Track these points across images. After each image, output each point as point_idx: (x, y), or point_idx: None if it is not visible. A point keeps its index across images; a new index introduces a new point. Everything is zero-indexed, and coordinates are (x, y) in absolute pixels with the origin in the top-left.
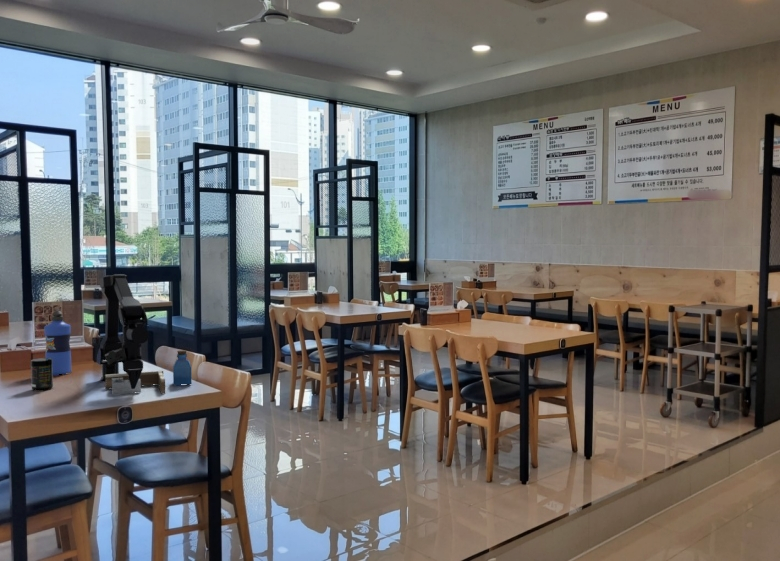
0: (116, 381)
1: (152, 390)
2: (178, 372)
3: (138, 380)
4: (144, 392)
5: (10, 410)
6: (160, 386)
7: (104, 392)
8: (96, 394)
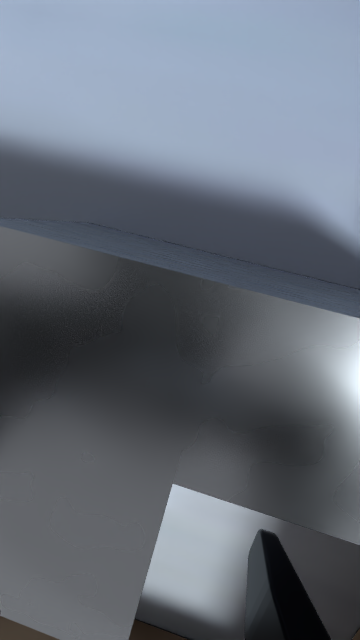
0: (102, 348)
1: None
2: None
3: (11, 602)
4: None
5: None
6: (25, 630)
7: (325, 169)
8: (253, 19)
